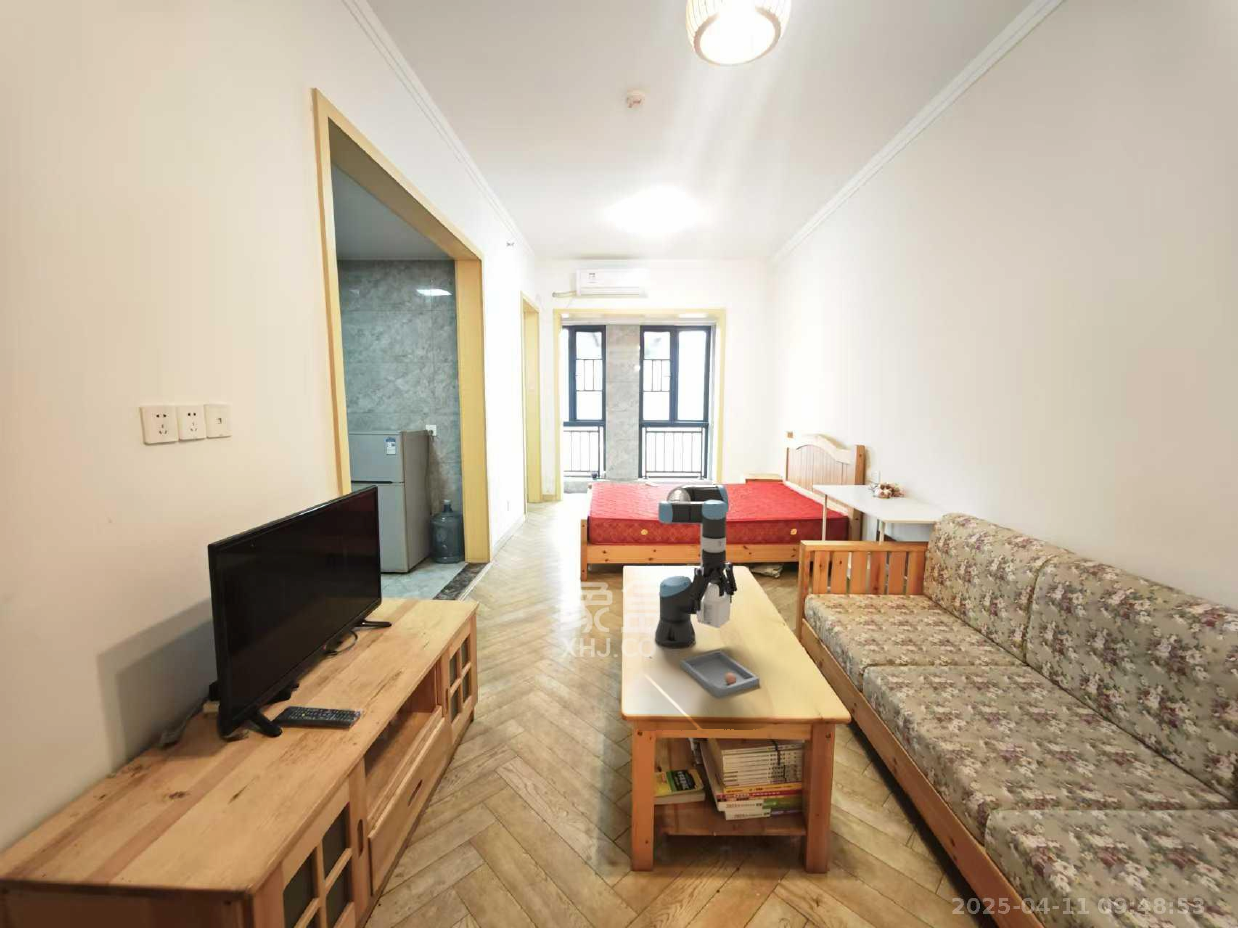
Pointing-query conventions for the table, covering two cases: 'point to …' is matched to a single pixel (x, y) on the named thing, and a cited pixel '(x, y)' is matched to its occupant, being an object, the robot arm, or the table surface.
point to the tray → (719, 673)
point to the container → (715, 605)
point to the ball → (730, 678)
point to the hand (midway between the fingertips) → (713, 616)
